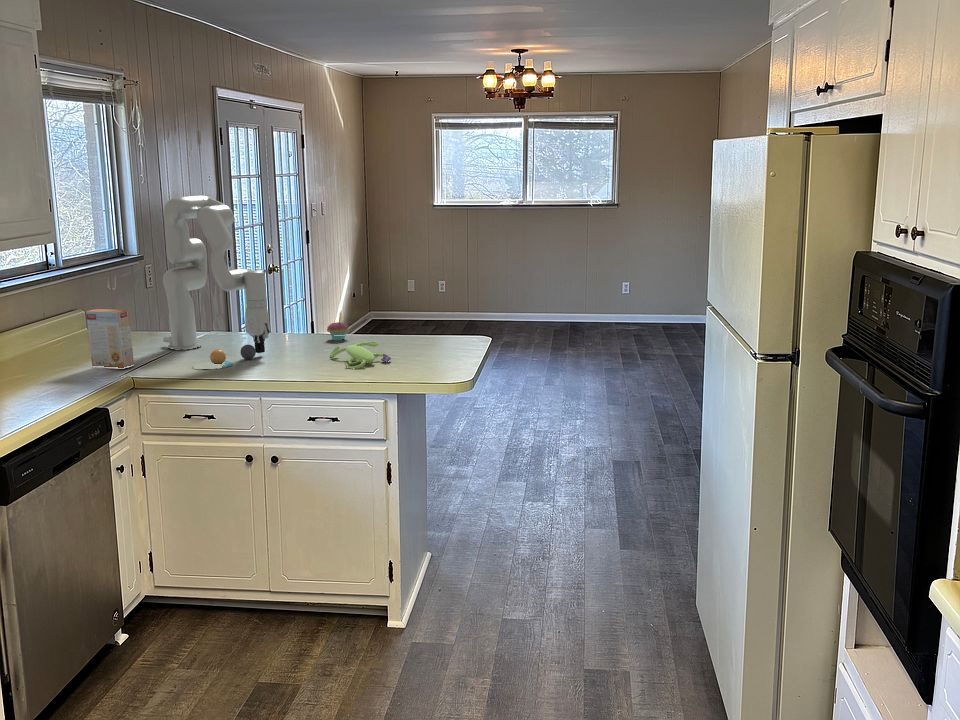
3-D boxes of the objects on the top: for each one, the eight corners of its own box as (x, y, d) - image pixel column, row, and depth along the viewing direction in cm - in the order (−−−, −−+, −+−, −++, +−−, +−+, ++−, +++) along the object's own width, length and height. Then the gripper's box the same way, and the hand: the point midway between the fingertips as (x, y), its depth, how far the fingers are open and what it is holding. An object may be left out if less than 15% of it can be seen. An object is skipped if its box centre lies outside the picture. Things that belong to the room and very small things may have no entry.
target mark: (184, 369, 312) (184, 368, 312) (205, 360, 325) (205, 360, 325) (220, 370, 309) (220, 370, 309) (239, 362, 322) (239, 361, 322)
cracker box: (135, 366, 317) (129, 309, 312) (123, 370, 311) (117, 312, 307) (103, 364, 321) (97, 307, 317) (91, 368, 316) (85, 310, 311)
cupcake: (352, 338, 362) (351, 309, 360) (341, 342, 355) (339, 312, 352) (335, 336, 366) (333, 308, 363) (323, 340, 358) (321, 311, 356)
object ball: (228, 356, 322) (219, 368, 320) (215, 347, 321) (206, 360, 319) (229, 353, 317) (220, 366, 315) (216, 345, 316) (207, 357, 314)
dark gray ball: (255, 345, 329) (252, 359, 330) (240, 342, 327) (237, 357, 327) (258, 346, 325) (255, 361, 325) (243, 344, 322) (240, 359, 322)
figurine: (373, 352, 338) (373, 337, 337) (398, 365, 314) (398, 350, 313) (326, 357, 330) (326, 342, 329) (348, 371, 307) (347, 355, 305)
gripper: (236, 303, 329) (240, 351, 333) (259, 307, 319) (263, 356, 323) (253, 300, 334) (257, 348, 338) (276, 304, 325) (280, 353, 329)
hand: (260, 352), depth 331 cm, fingers closed
